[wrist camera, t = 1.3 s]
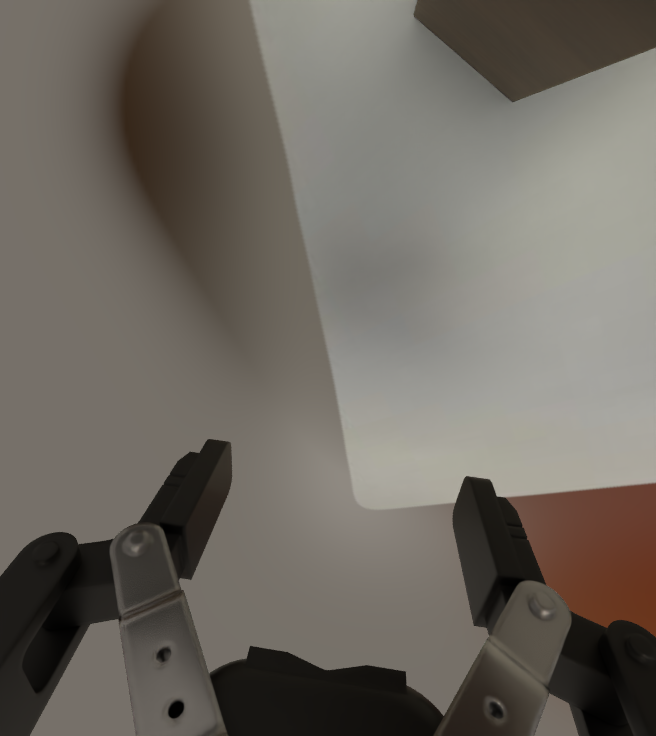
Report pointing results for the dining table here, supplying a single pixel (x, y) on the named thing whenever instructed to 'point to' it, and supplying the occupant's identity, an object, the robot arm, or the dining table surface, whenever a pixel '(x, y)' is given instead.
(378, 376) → the dining table surface
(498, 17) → the dark brown tall slab
